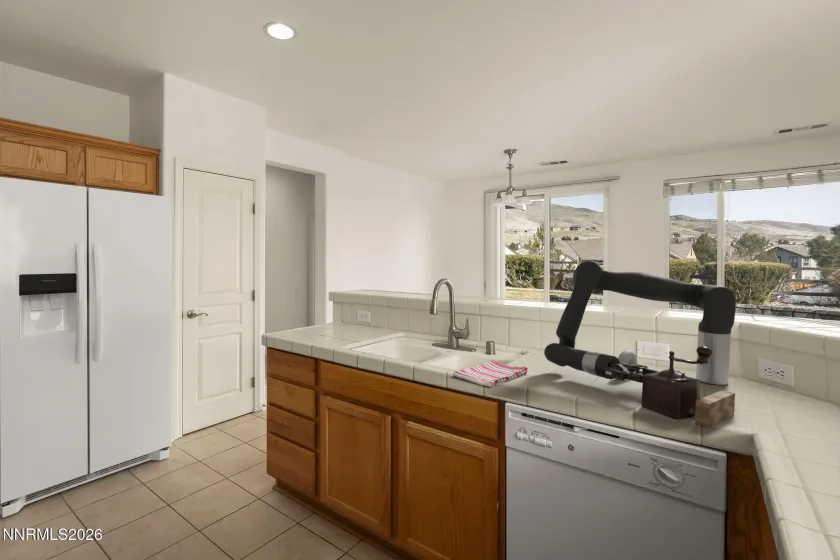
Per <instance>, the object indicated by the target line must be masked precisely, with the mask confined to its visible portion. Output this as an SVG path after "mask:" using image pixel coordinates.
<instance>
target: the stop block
mask: <svg viewBox="0 0 840 560" xmlns="http://www.w3.org/2000/svg"><path fill="white" fill-rule="evenodd" d="M735 403H736V392H733V391H728V390H723V389H722V390H719V391H717V392H714V393H711V394H709V395H707V396H704V397H701V398H700V399H698V400H696V410H695V415H694V424H695V425H698V426H702V427H705V428H710V427H713V426H714V424H715V425H717V424H718V422H719V423H721V422H722V421H725V420H727V419H729V418H730V417H733V416H734V415H735ZM720 421H721V422H720ZM716 423H717V424H716Z"/></svg>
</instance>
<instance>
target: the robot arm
mask: <svg viewBox="0 0 840 560" xmlns="http://www.w3.org/2000/svg"><path fill="white" fill-rule="evenodd" d="M572 280H573V282H574V285H573V289H572V292H571V295H570V296H569V300H568V301H567V303H566V305H565V308H564V310H563V312H562V315H561V317H560V319H559V322H558V325H557V328H556V330H555V331H556V332H555V335H556V336H557V338H558V340H559V342H558V343H557V342H551V343H549V344H547V345H546V346H545V348H544V351H543V355H544V357H545V359H546V361H548V362H549V363H552V364H555V365H557V366H559V367H570V368H571V369H574V370H577V371H580V372H584V373H587V374H590V375H591V376H592V375H593V376H596V377H599V378H604V379H607V380H610V381H611V380H618V381H621V382H624V381H625V380H626V381H632V382H636V383H639V384H640V383H641V384H642V383H643V375H645V374H651V373H657V372H659V371H658V370H655V369H650V368H649V367H648V366H647V365H643V364H638V363H637V364H634V363H628V364H627V363H622V364H620V362H619V360H618V356H616V355H611V354H606V353H601V352H595V351H589V350H588V351H587V350H584V349H578V348H576V347H575V346H576V338H577V335H578V332H579V328H580V327H581V323H582V320H583V318H584V315H585V312H586V308H587V305H588V303H589V301H590V299H591V296H592V294H593V292H594V291H595V290H599V291H608V292H613V293H617V294H620V295H625V296H630V297H634V298H638V299H642V300H643V299H644V300H650V301H653V302H666V303H681V304H685V305H689V306H693V307H696V308H700V309H702V310H703V313H702V318H701V321H700V322H699V323H698V326H697V327H698V328H697V329H698V330H697V345H696V346H697V347H696V349H697V348H698V347H700V346H705V347H708V348H710V349H711V350H712V352H713V354H712V356H710V357H709V359H708V364H705V363H704V364H702V365H701V364H696V371H695V379H699V380H700V381H701V382H702V383H705V384H706V383H707V384H711V385H718V386H720V385H721V386H726V385H729V379H730V378H729V377H730V376H729V375H730V374H729V373H730V362H731V361H730V358H731V344H732V343H731V338H732V329H733V327H734V324H735V319H736V308H737V297H736V294H735V293H734V291H733V290H732V289H730V288H729V287H726V286H724V285H717V284H698V283H689V282H688V283H687V282H685V281H684V282H682V281H680V280H677V279H674V278H671V277H667V276H663V275H660V274H659V275H658V274H654V273H648V272H639V271H638V272H637V271H632V272H631V271H625V272H623V271H622V272H621V271H620V272H618V271H617V272H615V271H611V270H604V269H602V268H601V265H600V264H599V262H596V261H594V260H585V261H582V262H580V263H579V264H578V265H577V267H576V268H575V270H574V271H573V273H572ZM698 357H699V356H698V354H697V353H696V360H697V359H698ZM633 372H635V373H633ZM701 382H700V383H701Z"/></svg>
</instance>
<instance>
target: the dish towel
mask: <svg viewBox="0 0 840 560" xmlns="http://www.w3.org/2000/svg"><path fill="white" fill-rule="evenodd" d="M527 373H528V367H527V366H511V365H505V364H502V363H500V362H499V361H495V360H494V359H493V360H490V361H486V362H484V363H481V364H479V365H477V364H476V365H474V366H471V367H464V368H462V369H459V370H455V371H453V373H452V377H455V378H457V379H461V380H463V381H466V382H470V383H473V384H477V385H479V386H483V387H487V388H490V389H491V388H494V387H497V386H499V385H503V384H505V383H507V382H511V381H514V380H516V379H520V378H523V377H525V376H527Z"/></svg>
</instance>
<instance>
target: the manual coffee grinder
mask: <svg viewBox="0 0 840 560" xmlns="http://www.w3.org/2000/svg"><path fill="white" fill-rule="evenodd" d="M695 351H696V355H697V354H698V356H699V357H698V359H697V358H696V360H695V361H694V360H689V359H683V358H677V357H675V352H674V351H673V350H671V351H669V353H668V354H669V356H668V359H669V368H668V369H663V370H660V371H658V372H657V373H651V374H645V375H643V383H641V384H642V387H641V388H642V389H641V405H640V406H642V407H641V408H643V407H644V408H643V409H645V408H647V409H646V410H648V409H649V410H648V411H651V410H652V411H651V412H654V411H655V412H654V413H656V412H657V413H656V414H660V415H663V416H665V417H669V418H671V419H675V420H681V419H685V418H690V417H693V416H695V410H696V400H698V399H701V398H700V397H701V396H700V395H701V381H700V380H699V379H696V377H695V378H694V377H691V376H687V375H686V372H683V373H682V372H680V370H675V369H674V363H675V362H679V363H685V364H689V365H697V364H701V365H702V364H704V363H705V364H708V359H709V357H710V356H712V354H713V352H712V350H711V349H710V348H708V347H705V346H700V347H698V348H697V347H696V350H695ZM692 415H693V416H692Z"/></svg>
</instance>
